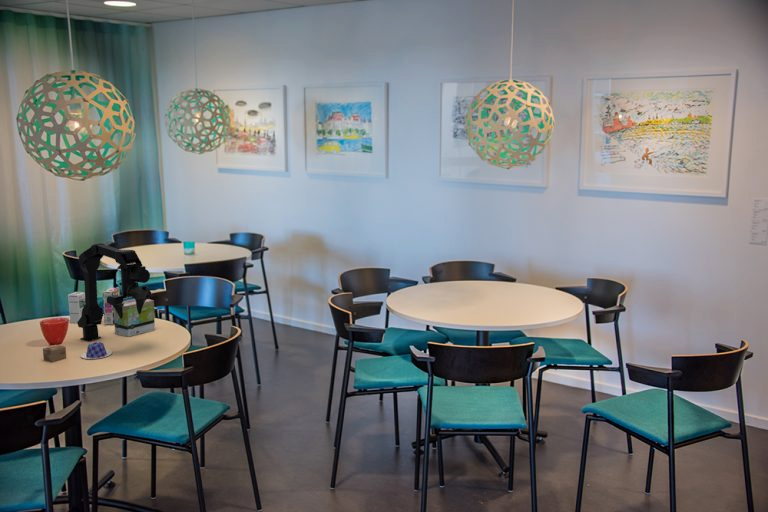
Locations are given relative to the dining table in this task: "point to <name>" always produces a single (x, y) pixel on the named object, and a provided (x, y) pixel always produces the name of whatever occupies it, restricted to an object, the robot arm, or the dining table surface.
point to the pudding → (96, 351)
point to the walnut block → (54, 353)
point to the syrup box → (76, 305)
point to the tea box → (135, 318)
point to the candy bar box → (109, 306)
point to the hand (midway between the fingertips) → (130, 316)
